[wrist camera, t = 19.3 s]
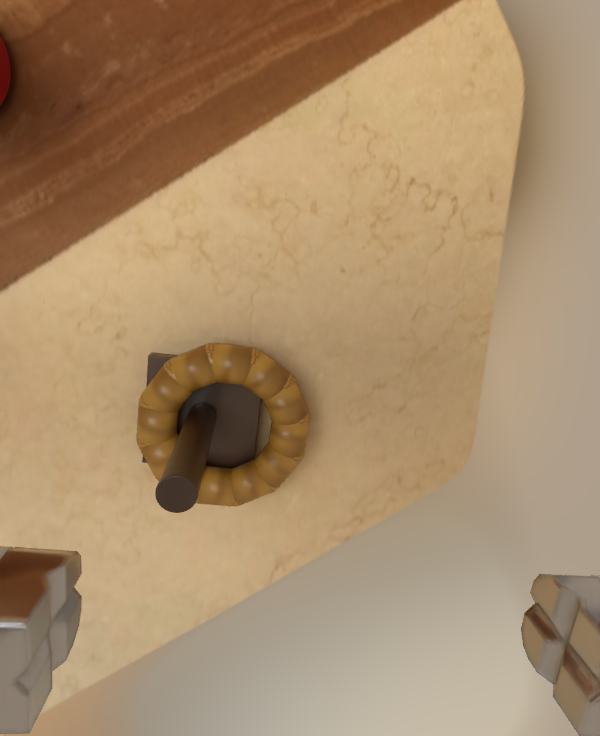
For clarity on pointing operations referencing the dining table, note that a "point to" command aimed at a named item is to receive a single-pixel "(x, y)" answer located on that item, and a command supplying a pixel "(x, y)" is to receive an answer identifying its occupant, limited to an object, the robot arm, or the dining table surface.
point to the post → (206, 437)
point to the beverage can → (4, 71)
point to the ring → (230, 368)
